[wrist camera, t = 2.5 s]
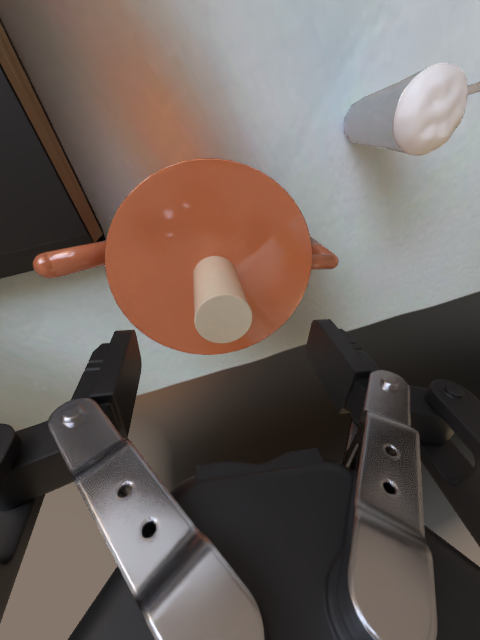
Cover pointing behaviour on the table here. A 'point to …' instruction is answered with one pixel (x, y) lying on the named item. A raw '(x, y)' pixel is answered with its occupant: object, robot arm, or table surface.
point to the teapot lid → (208, 256)
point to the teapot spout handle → (94, 256)
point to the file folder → (35, 176)
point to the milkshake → (412, 111)
